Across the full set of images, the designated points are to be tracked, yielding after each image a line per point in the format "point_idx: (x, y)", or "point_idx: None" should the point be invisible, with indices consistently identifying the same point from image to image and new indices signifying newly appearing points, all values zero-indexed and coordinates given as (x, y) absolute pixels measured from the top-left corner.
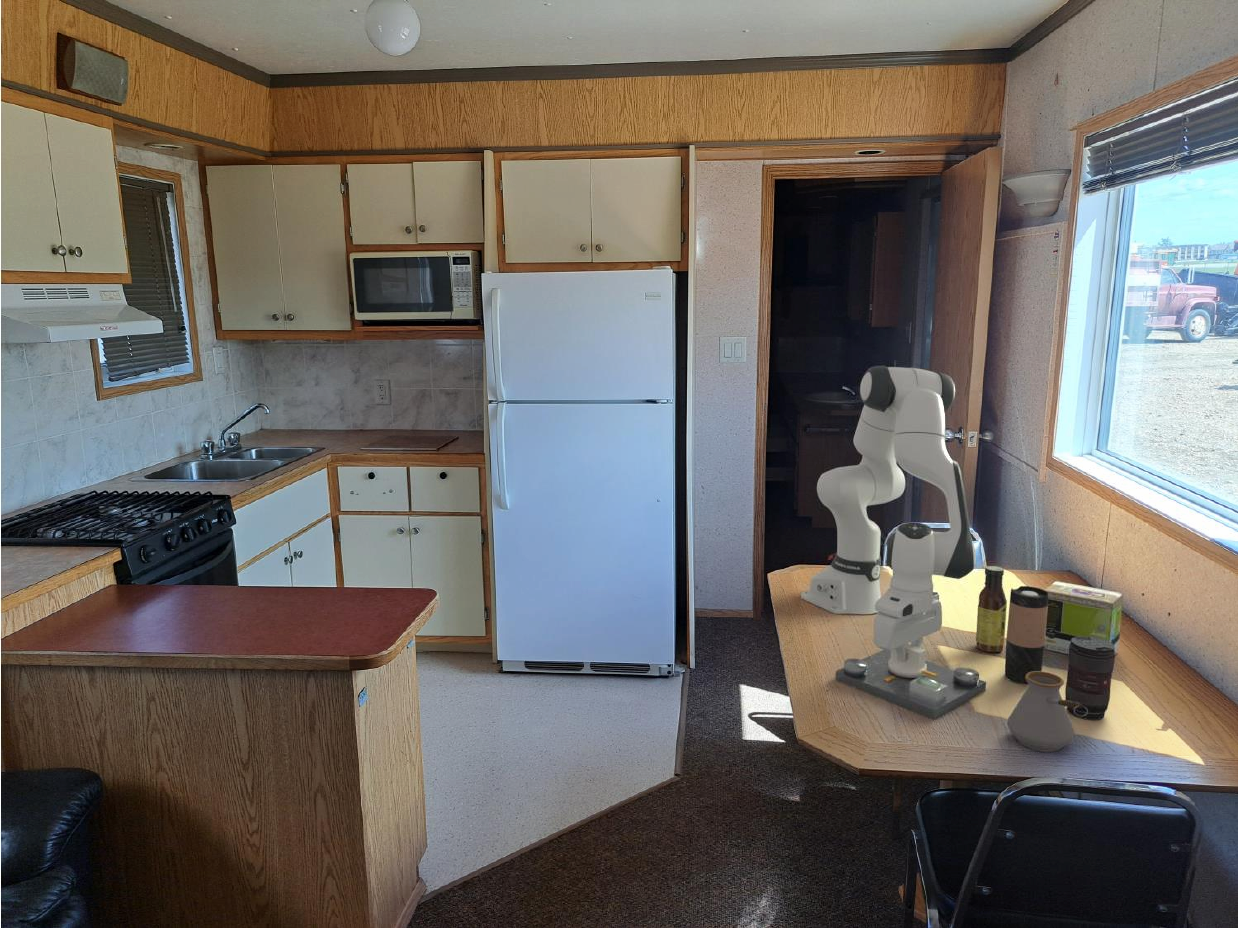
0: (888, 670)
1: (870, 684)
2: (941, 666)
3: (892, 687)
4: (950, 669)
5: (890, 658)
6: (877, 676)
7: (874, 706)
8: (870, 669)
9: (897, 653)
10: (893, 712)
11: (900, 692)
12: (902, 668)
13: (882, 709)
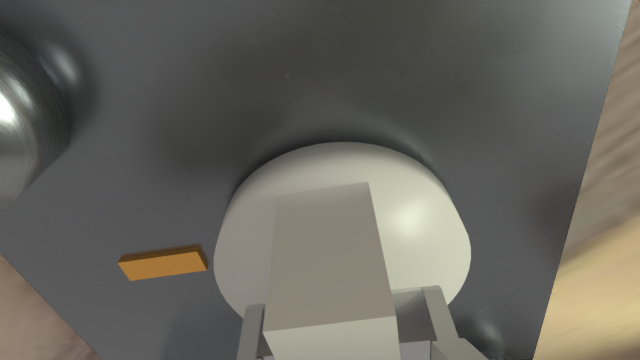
0: (237, 187)
1: (13, 260)
2: (550, 275)
3: (122, 315)
4: (543, 308)
5: (278, 203)
6: (109, 215)
7: (12, 299)
8: (116, 124)
9: (237, 355)
10: (72, 344)
11: (132, 348)
12: (256, 301)
13: (37, 321)
